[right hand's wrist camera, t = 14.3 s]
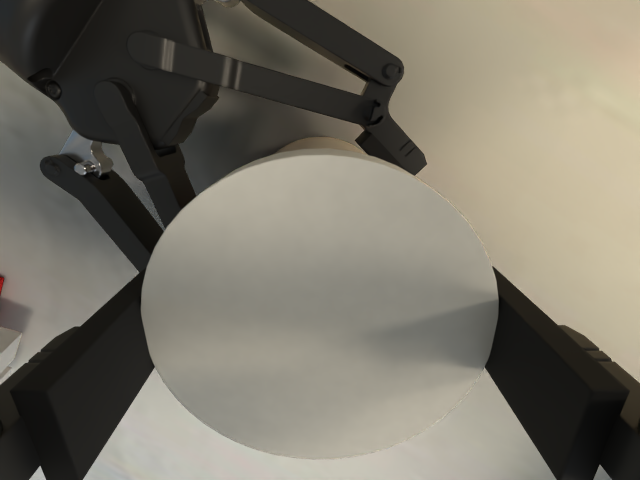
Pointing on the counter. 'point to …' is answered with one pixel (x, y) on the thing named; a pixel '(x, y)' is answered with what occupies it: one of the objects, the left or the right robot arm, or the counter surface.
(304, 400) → the lid
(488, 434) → the counter surface
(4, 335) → the toy
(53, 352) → the right robot arm
